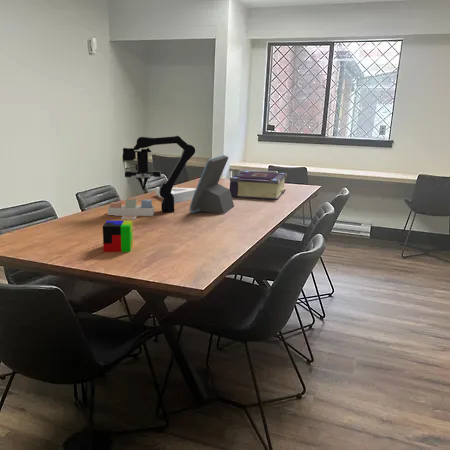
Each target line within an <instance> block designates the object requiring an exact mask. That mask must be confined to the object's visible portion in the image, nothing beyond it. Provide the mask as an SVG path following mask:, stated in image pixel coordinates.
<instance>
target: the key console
mask: <svg viewBox="0 0 450 450" xmlns="http://www.w3.org/2000/svg"><path fill="white" fill-rule="evenodd" d="M108 215H115V217H116V216H118V217H119V216H121V217H123V216H137V217H140V216H141V217H153V216H154V215H155V205H152V208H141V205H137V207H136V208H126V205H123V204H121V208H110V205H109V206H107V216H108Z"/></svg>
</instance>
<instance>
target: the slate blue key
mask: <svg viewBox="0 0 450 450" xmlns="http://www.w3.org/2000/svg"><path fill="white" fill-rule="evenodd" d="M140 206H141V208H152V206H153V199H142V200H141V201H140Z"/></svg>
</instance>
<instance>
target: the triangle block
mask: <svg viewBox="0 0 450 450" xmlns="http://www.w3.org/2000/svg"><path fill="white" fill-rule="evenodd" d="M159 187H160V186H155V196H156V195H157V196H159V197H158V198H160V197H161V196H160V193H159V190H160V189H159ZM196 188H197V187H196ZM196 188H195V187H194V188H193V187H173V188H172V191H171V193H172V194H173V196H174V204H177V203H178V202H179V203H182V202H186V201H187V200H188V201H192V200H191V199H192V198H193V196H194V193H195V190H196ZM157 196H156V197H157ZM160 199H162V197H161V198H160Z"/></svg>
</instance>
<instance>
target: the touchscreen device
mask: <svg viewBox="0 0 450 450" xmlns="http://www.w3.org/2000/svg"><path fill="white" fill-rule="evenodd" d="M228 160H229V156H227V155H225V154H221V155H217V156H214V157H211V158H209V159H208V160H207V161H206V164H205V166H204V169H203V170H202V173H201V175H200V178H199V180H198V183H197V186H196V190H195V193H194V196H193V198H192V200H191V203H190V205H189V211H190V214H194V213H197V212H198V213H199V212H203V213H204V212H205V213H212V214H213V213H214V214H220V215H225V214H227V213H228V212H229V211H230V210H232V209H233V208H234V207H235V204H234V201H233V197H232V196H231V192H230V188H227V187H225V186H223V185H222V184H219V182H220V179H221V177H222V174H223V172H224V170H225V168H226V167H225V166H226V164H227V162H228Z"/></svg>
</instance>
